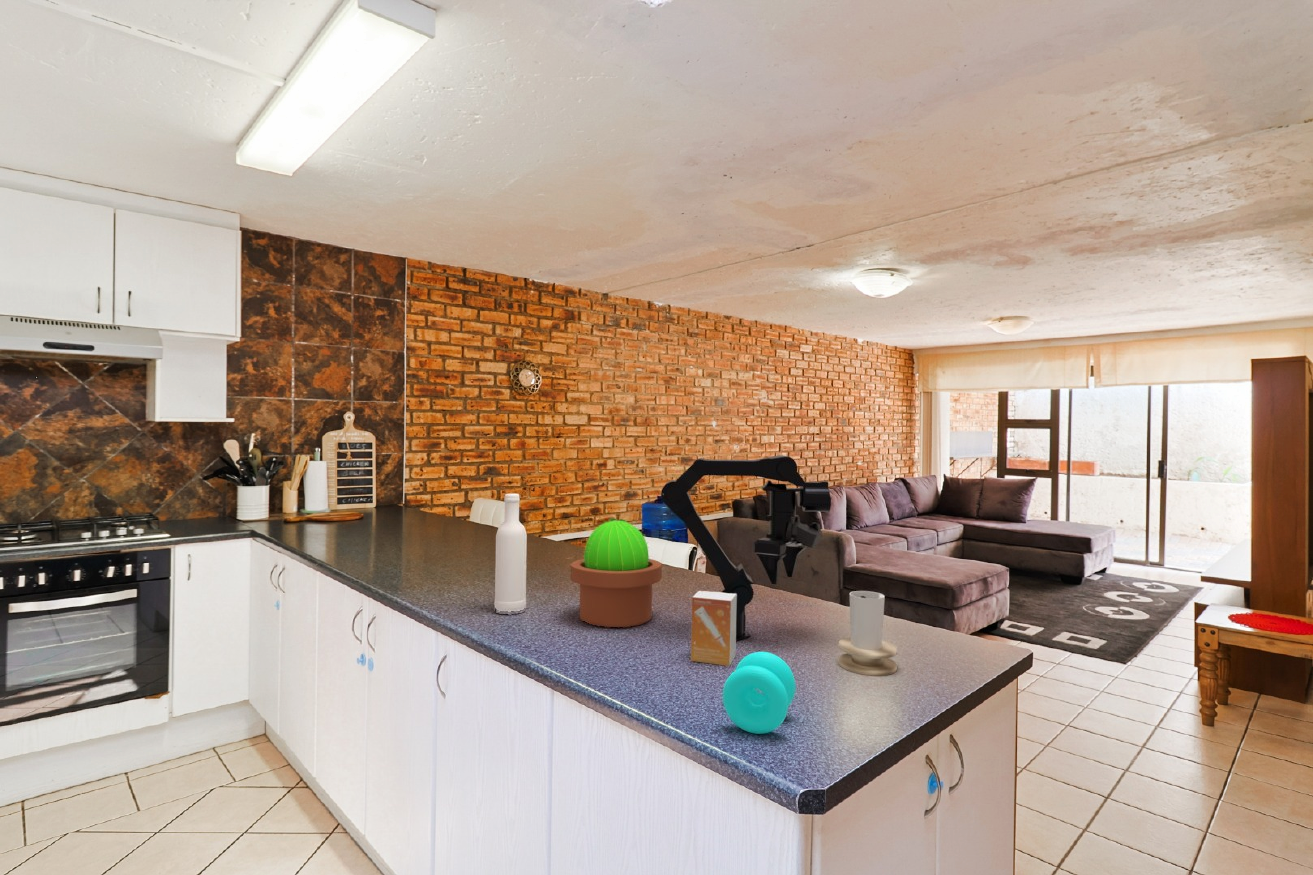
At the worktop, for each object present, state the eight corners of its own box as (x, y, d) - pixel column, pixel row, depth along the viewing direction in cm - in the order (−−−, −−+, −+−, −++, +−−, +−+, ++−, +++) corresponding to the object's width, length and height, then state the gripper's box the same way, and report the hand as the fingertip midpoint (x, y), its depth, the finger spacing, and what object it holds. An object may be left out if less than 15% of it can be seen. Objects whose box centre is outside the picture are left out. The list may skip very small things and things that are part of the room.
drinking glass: (843, 645, 127) (844, 595, 127) (856, 637, 132) (856, 589, 132) (877, 652, 123) (877, 600, 123) (888, 644, 128) (889, 594, 128)
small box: (690, 661, 128) (691, 596, 128) (697, 652, 134) (698, 589, 134) (730, 666, 125) (731, 600, 126) (736, 656, 131) (737, 592, 132)
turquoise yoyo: (720, 730, 97) (720, 664, 98) (735, 705, 107) (736, 645, 107) (786, 742, 94) (786, 674, 94) (796, 715, 103) (797, 653, 103)
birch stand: (878, 679, 119) (878, 658, 119) (827, 664, 128) (827, 643, 128) (907, 666, 127) (907, 646, 127) (857, 652, 135) (857, 633, 135)
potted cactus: (627, 637, 144) (629, 525, 144) (552, 621, 155) (554, 518, 155) (676, 615, 162) (677, 516, 162) (606, 603, 174) (607, 510, 174)
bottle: (501, 606, 168) (503, 492, 169) (530, 608, 167) (532, 493, 168) (489, 614, 160) (491, 494, 161) (519, 616, 159) (521, 495, 160)
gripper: (802, 517, 132) (801, 593, 132) (831, 510, 148) (830, 577, 148) (752, 513, 138) (752, 586, 138) (785, 507, 154) (785, 572, 154)
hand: (782, 580), depth 144 cm, fingers open, 9 cm apart
